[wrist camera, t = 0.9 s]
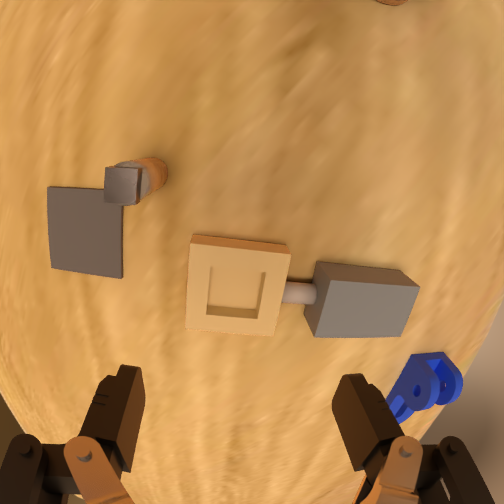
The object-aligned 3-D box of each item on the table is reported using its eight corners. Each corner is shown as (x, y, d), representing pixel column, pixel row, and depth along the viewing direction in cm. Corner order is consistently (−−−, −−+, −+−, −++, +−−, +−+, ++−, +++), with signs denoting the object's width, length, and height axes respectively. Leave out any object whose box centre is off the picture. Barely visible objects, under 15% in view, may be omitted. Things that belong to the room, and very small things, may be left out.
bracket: (410, 353, 41) (437, 388, 32) (442, 351, 42) (468, 381, 33) (369, 423, 46) (385, 456, 38) (401, 417, 48) (418, 447, 39)
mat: (49, 186, 27) (47, 187, 27) (124, 190, 28) (122, 191, 28) (53, 266, 30) (51, 268, 30) (123, 276, 32) (121, 278, 31)
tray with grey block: (187, 314, 34) (183, 339, 29) (193, 234, 31) (187, 250, 26) (380, 325, 37) (396, 346, 33) (403, 259, 34) (424, 275, 29)
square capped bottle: (138, 156, 27) (101, 161, 18) (169, 158, 28) (143, 163, 19) (135, 188, 28) (98, 207, 19) (166, 191, 29) (140, 210, 20)
